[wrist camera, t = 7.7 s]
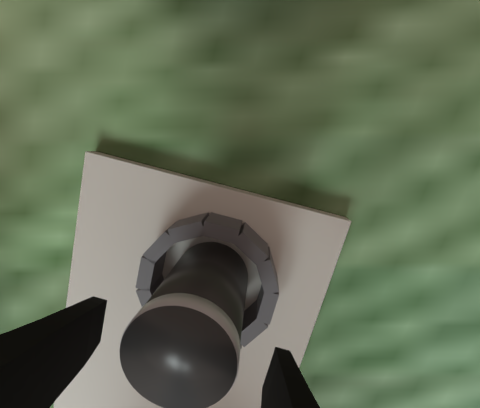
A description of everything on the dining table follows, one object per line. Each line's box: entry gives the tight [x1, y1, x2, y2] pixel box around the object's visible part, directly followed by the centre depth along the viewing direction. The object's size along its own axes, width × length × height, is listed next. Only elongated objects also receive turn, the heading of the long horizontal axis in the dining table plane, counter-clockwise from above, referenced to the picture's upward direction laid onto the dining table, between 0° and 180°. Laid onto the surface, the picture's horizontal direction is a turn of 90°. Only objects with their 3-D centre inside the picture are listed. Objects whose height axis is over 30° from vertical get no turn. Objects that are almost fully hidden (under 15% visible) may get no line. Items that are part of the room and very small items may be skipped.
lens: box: [120, 242, 248, 408], centre depth 14 cm, size 5×5×7 cm
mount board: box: [54, 151, 351, 408], centre depth 18 cm, size 20×16×3 cm
